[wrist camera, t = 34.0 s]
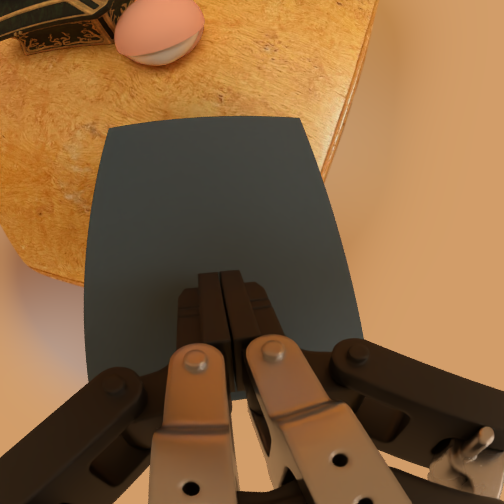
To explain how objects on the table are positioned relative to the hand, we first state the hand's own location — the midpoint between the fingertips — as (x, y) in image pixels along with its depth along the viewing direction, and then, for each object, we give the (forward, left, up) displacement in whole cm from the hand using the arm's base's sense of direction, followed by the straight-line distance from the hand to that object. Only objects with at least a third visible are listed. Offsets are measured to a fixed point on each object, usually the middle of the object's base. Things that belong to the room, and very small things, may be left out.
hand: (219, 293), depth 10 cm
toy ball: (-8, +14, -20) cm, 26 cm away
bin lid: (0, +1, -3) cm, 3 cm away
